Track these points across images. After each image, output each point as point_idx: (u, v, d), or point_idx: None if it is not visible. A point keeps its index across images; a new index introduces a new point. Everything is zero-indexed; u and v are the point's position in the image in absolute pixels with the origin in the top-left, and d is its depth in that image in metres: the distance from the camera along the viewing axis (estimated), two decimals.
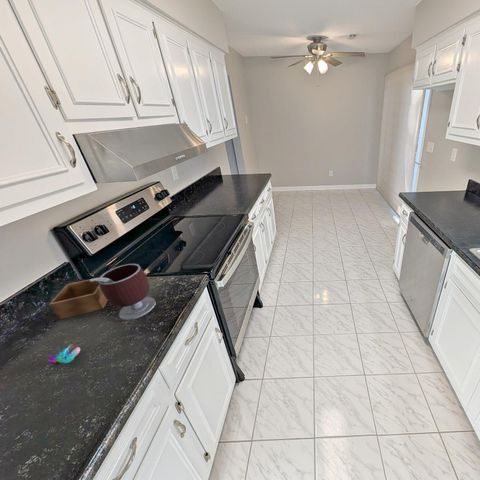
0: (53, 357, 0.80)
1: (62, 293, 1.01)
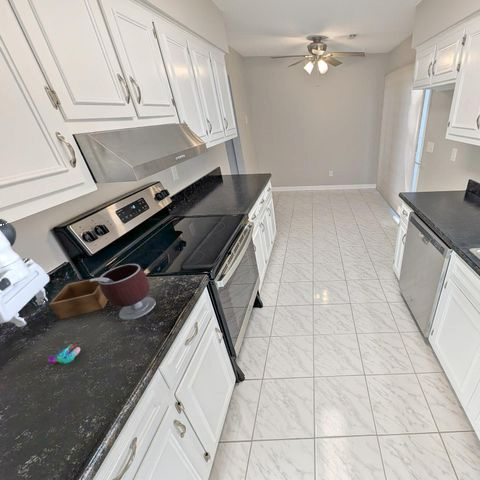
0: (53, 357, 0.80)
1: (62, 293, 1.01)
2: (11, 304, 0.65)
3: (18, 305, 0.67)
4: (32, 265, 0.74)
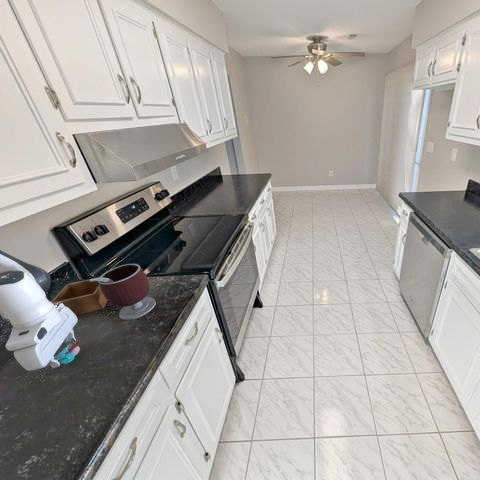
0: None
1: (62, 293, 1.01)
2: (47, 349, 0.72)
3: (53, 350, 0.73)
4: (63, 309, 0.81)
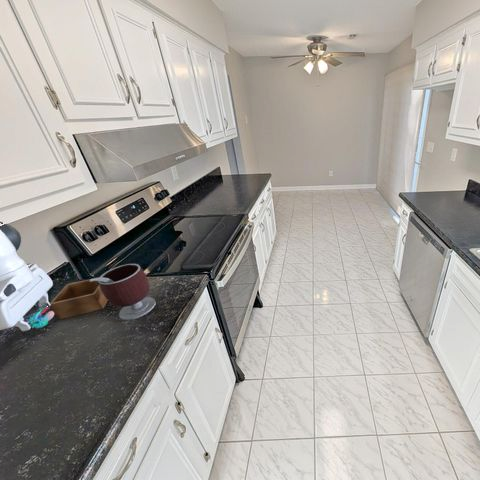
0: (23, 320, 0.74)
1: (62, 293, 1.01)
2: (16, 309, 0.66)
3: (22, 310, 0.67)
4: (36, 270, 0.75)
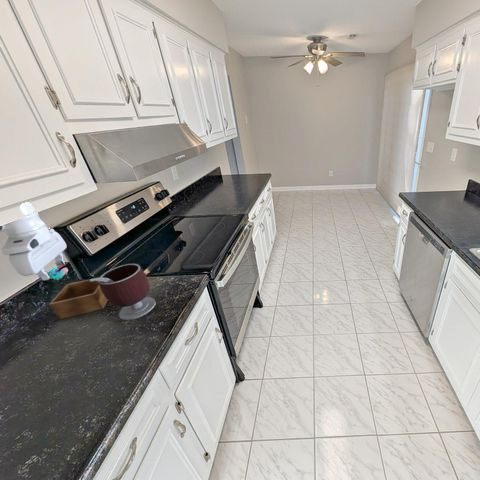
0: None
1: (62, 293, 1.01)
2: (38, 260, 0.81)
3: (43, 262, 0.83)
4: (53, 233, 0.90)
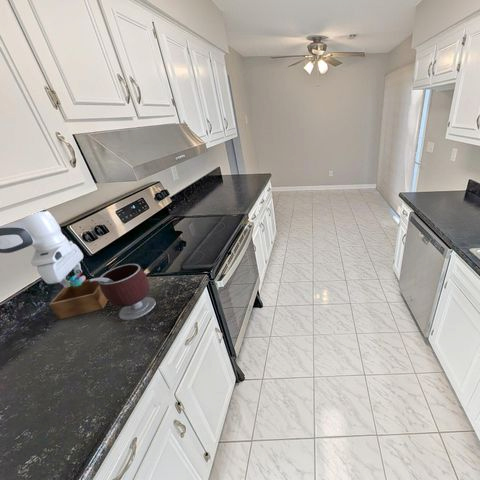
0: None
1: (62, 293, 1.01)
2: (61, 270, 0.92)
3: (65, 272, 0.94)
4: (72, 245, 1.01)
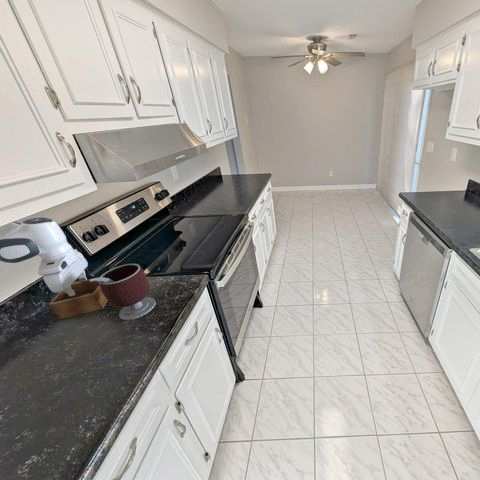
0: None
1: (62, 293, 1.01)
2: (67, 279, 0.94)
3: (71, 280, 0.96)
4: (77, 253, 1.03)
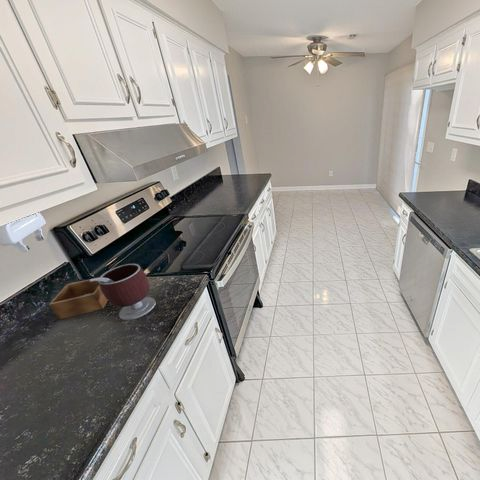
0: None
1: (62, 293, 1.01)
2: (17, 232, 0.88)
3: (22, 234, 0.89)
4: None
